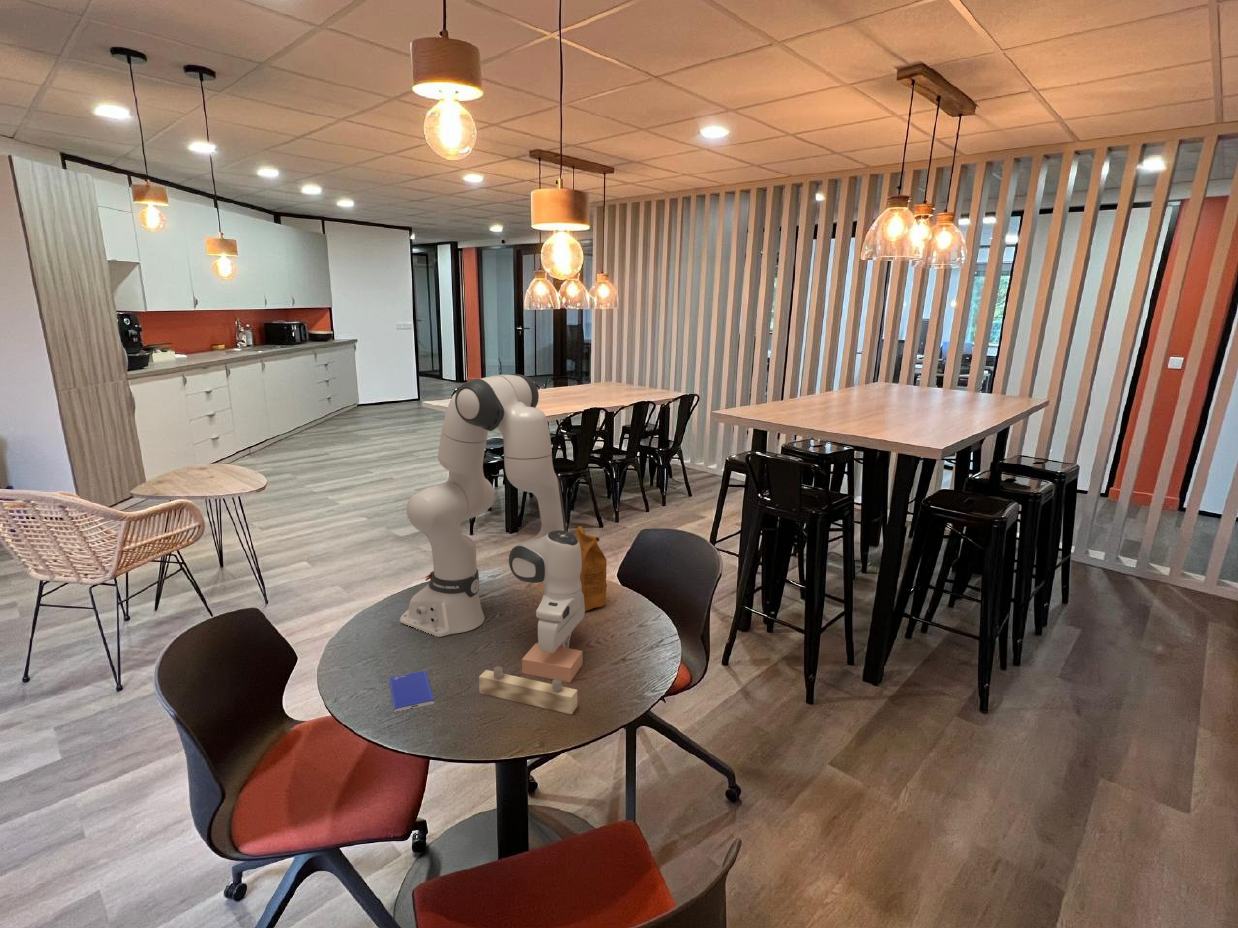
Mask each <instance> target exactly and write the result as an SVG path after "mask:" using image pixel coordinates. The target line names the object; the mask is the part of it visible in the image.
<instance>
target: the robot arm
mask: <svg viewBox="0 0 1238 928" xmlns="http://www.w3.org/2000/svg"><path fill="white" fill-rule="evenodd" d="M538 403H539V389H538V387H537V385H536V383H535V381H533V379H532V378H530V377H528V376H527V375H523V374H518V373H511V374H494V375H491V376H486V377H482V378H474V379H471V380H468V381H466V382H464V383H463V384H461V385H460V386H459V387H458V388H457V391H456V392H455V393H454V394H453V395H452V396H451V398H450V400H449V404H448V405H447V408H446V411H445V415H444V418H443V423H442V428H441V434H440V441H439V445H438V452H437V460H438V462H439V463H440V465H441V467H442V468H444V469H445V470H446V471H447V472H448V478H447V480H446V482H443V483H439V484H435V485H432V486H428V487H425V488H424V489H422V490H420V491H418V492H417V493H415V494H414V495H412V496H410V497H409V499H408V501H407V505H406V515H407V519H408V521H409V522H410V524H411V525H412V527H413V528H415V529H416V530H418V531H419V532H421V533H423V534H424V535H425V536H426V538H427V540H428V542H429V544H430V547H431V551H432V552H431V553H432V564H433V565H432V566H433V571H430V572H429V574H428V575H426V576H425V581H429V582H428V584H427V585H425V586H424V587H423V588H422V589H420V590H419V591H417V592H416V593H415V594H414V595H413V596H412V597H411V599H410V600H409V604H408V609H407V610H405V612H404V613H403V614H402V615H401V616H400V618H399V623H400V622H401V623H404V624H406V625H408V626H407V627H409V626H411V627H414V628H416V629H415V630H417V629H419V630H418V631H420V630H422V631H424V632H423V633H425V632H426V633H425V634H428V633H429V634H428V635H431V634H432V635H431V636H433V635H434V636H433V637H437V638H441V637H444V636H448V635H453V634H459V633H460V634H461V633H465V632H469V631H472V630H474V629H477V628H478V627H480V626H481V625H482V624H483V623H484V622H485V617H486V616H485V615H484V612H483V609H482V605H481V601H480V594H479V591H480V590H479V589H480V577H479V569H478V568H477V566H478V565H477V546H476V543H475V541H474V540H473V539H472V538H471V537H469V536H468V535H465V534H463V531H462V528H461V527H462V526H461V525H462V522H464V521H467V520H469V519H473V518H475V517H478V516H480V515H481V514H483V513H484V512H486V511H487V510H489V509H490V508H491V507H492V506H493V505H494V502H495V490H494V487H493V485H492V483H491V482H490V481H489V480H488V479H487V478H486V477H485V474H484V467H483V466H484V458H485V457H484V456H485V453H486V452H485V450H486V446H487V440H488V434H489V432H492V431H494V430H496V429H498V431H499V432H500V433H501V436H502V439H503V458H504V459H503V460H504V461H503V462H504V465H503V466H504V471H505V476H506V478H507V480H508V481H509V483H510V484H511V485H512V486H513V487H515V488H516V489H518V490H520V491H521V492H522V491H523V492H527V493H532V494H533V495H534V496H535V498H536V499H537V504H538V510H539V518H540V523H541V524H540V525H541V528H540V531H539V532H538V533H537V534H536V535H535V536H533V537H530V538H529V539H526V540H525V541H522V542H521V543H519V544H516V546H513V548H512V549H511V551H510V552H509V555H508V565H509V569H510V572H511V573H512V575H514V577H515V578H516V579H518V580H520V581H521V582H524V583H533V584H534V583H535V584H537V583H538V584H539V583H542V584H543V585H544V591H543V592H544V593H543V595H542V599H541V601H540V603H539V605H538V607H537V609H536V611H535V615H536V616H535V617H536V618H537V619H538V622H537V640H538V641H537V643H538V645H539V648H540V650H541V651H544V652H549V653H554V652H555V651H556V650H557V649H558V647H564V648H569V649H570V640H571V635H572V632H573V631H574V630H575V629H576V627H577V626H578V625H579V624H580V623H581V622H582V620H583V619H584V617H585V612H586V611H585V605H584V595H583V593H582V585H581V581H580V574H581V571H582V558H581V548H580V543H579V541H578V538H577V537H576V536H575V534H574V533H572V532H570V531H568V528H567V522H566V516H565V515H566V514H565V508H564V502H563V501H564V500H563V495H562V489H561V488H562V487H561V483H560V480H559V477H558V475H557V473H556V472H555V470H554V469H555V468H554V464H553V454H552V453H553V452H552V451H553V450H552V441H551V432H550V426H549V423H548V419H547V416H546V414H545V413H544V411H542V410H540V409H539V408H537V406H538ZM401 623H400V624H401ZM406 625H405V626H406ZM411 627H410V628H411ZM414 628H413V629H414ZM422 631H421V632H422Z"/></svg>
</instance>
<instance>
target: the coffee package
mask: <svg viewBox="0 0 1238 928" xmlns="http://www.w3.org/2000/svg"><path fill="white" fill-rule="evenodd" d="M574 535H575V536H576V537H577V538H578V541H579V543H580V548H581V558H582V571H581V574H580V581H581V585H582V593H583V595H584V605H585V612H587V611H589V610H592V609H594V608H601V607H603V606H606V602H607V601H606V600H607V597H606V596H607V586H608V584H607V563H608V562H607V558H606V556H605V553H603V551H602V549H601V548H600V547H599V545H598V544H599V543H598V542H600V537H598V536H595V535H590V534H586V533H585V528H583V526H578V527H577V530H576V532H575V534H574Z"/></svg>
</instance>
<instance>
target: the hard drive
mask: <svg viewBox="0 0 1238 928" xmlns="http://www.w3.org/2000/svg"><path fill="white" fill-rule="evenodd" d="M388 683H390V685H389V690H391V691H390V695H391V701H393V702H392V707H393V712H395V713H397V712H396V711H400V712H403V711H402V710H404V711H407V709H409V710H411V709H410V708H413V709H417V708H421V707H425V706H430V705H434V704H435V698H434V695H433V691H432V687H431V683H430V680H429V676H428V673H427V670H420V671H415V672H410V673H406V674H401V675H396V676H391V677H389V678H388Z"/></svg>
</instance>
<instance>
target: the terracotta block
mask: <svg viewBox="0 0 1238 928" xmlns="http://www.w3.org/2000/svg"><path fill="white" fill-rule="evenodd" d="M583 656H584V655H583V650H579V649H575V648H570V647H569V648H564V647H558V649H557V650H556V651H555V652H554V653H549V652H544V651H541V650H540V648H539V645H538V642H536V643H534V645H533V646H532V647H531V648H530V649H529V650H528V651H527V653H526V654H525V655H524V656H523V657H522V659H521V673H522V674H525V675H530V676H534V677H535V676H536V677H540V678H546V679H549V680H554V679H561V680H562V682H566V683H571V682H572V680H573V679H574V678H575V677H576V675H577V673H578V672H579V670H580V668H582V666H583Z"/></svg>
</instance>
